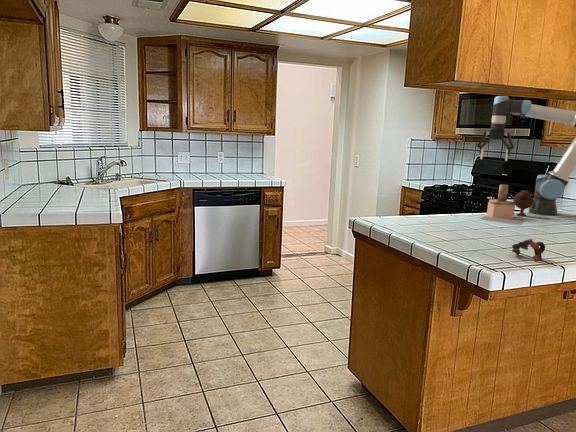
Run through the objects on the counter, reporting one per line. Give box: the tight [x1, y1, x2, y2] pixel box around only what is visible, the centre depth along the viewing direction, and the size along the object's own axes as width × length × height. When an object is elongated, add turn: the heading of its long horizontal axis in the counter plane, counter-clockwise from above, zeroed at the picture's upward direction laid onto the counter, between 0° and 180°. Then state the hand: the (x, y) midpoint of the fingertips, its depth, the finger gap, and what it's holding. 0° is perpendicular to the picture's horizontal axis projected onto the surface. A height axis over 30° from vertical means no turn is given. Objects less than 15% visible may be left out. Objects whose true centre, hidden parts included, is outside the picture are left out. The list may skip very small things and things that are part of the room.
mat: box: [479, 215, 525, 226], centre depth 238 cm, size 20×14×1 cm
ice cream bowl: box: [512, 189, 534, 218], centre depth 257 cm, size 11×11×15 cm
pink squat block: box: [486, 201, 516, 219], centre depth 250 cm, size 13×13×8 cm
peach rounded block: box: [488, 184, 516, 206], centre depth 248 cm, size 13×13×10 cm
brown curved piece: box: [511, 238, 546, 263], centre depth 164 cm, size 12×10×8 cm
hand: (493, 160), depth 265 cm, fingers open, 13 cm apart
